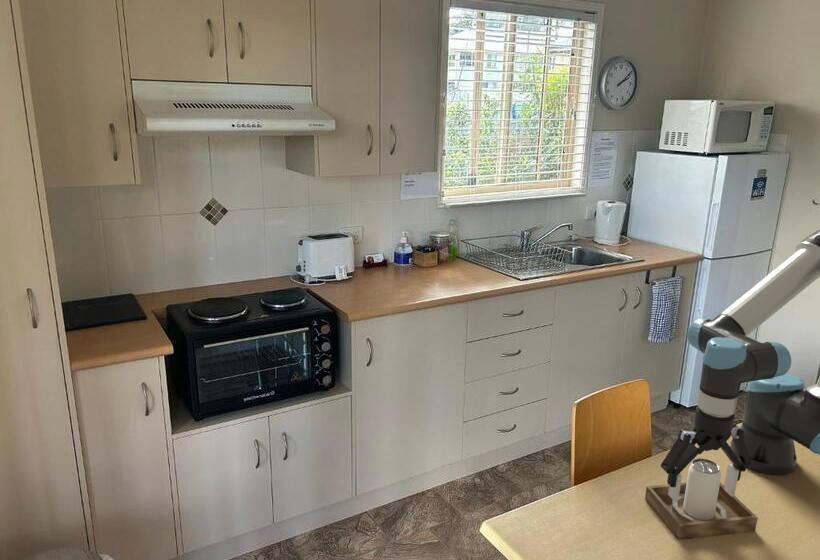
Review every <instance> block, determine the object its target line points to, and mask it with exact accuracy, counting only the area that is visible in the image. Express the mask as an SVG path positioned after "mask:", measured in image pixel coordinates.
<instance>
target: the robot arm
mask: <svg viewBox="0 0 820 560" xmlns="http://www.w3.org/2000/svg"><path fill="white" fill-rule="evenodd" d="M819 278H820V229H817V230H816V231H815V232H813V233H811V234H809V235H808V236H807V237H806V238H804V239H803V240H801V241H800V242H799V243H798V244H797V245H796V246H795V252H794V253H792V255H790V256H789V257H788V258H787V259H785V260H784V261H783V262H781V263H780V264H779V265H778V266H777V267H776V268H774V269H773V270H771V272H769V273H768V274H767V275H765V277H763V278H762V279H760V281H758V282H757V283H756V284H755V285H753V286H752V287H751V288H750V289H748V290H747V291H746V292H744V293H743V295H741V296H740V297H739V298H738V299H736V300H735V301H733V302H732V303H731V304H730V305H729V306H727V307H726V308H725V309H724V310H723V311H721V312H720V313H719V314H718V315H717V316H715V317H714V318H713V319H711V318H705V317H701V318H698V319H696V320H694V321H693V322H691V324H690V326H689V327H688V329H687V333H686V336H687V342H688V343H689V344H690V345H691V346H692V347H693V348H695V349H696V350H698V351H699V352H700V353H702V354H703V357H702V368H701V373H700V374H701V375H700V382H699V387H698V395H697V401H696V405H697V406H696V407H695V413H694V419H693V421H694V428H693V429H692V431H687V430H685V429H683V428H682V429H680V430H679V432H678V436H677V439H676V440H675V442H674V443H673V445H672V447H671V449H670V450H669V452H668V453H667V455H665V458H664V459H663V461H662V462H661V464H660V467H661V469H662V470H663V471H665V473H666V474H667V481H666V482H667V484H668V485H669V492H668V495H669V496H670V497H671V498H672V500H673V501H674V502H678V499H679V492H680V486H681V483H682V479H683V476H682V474H681V473H682V471H684V469H685V468H687V466H688V465H689V464H690V463H692V461H693V460H695V458H696V457H697V456H698V455H702V454H703V453H704V452H709V451H719V449H721V450H722V452H723V453H724V454H725V455H726V457H727V458H728V460H729V461H730V462H731V463H728V464H727V468H726V474H725V480H724V490H725V491H726V492H727V493H728V494H729V495H730V496H735V497H736V495H735V494H736V491H737V490H736V489H737V484H738V482H739V481H740V480H741V474H742V472H746V470H747V468H748V469H750V470H753V471H755V472H759V473H763V474H766V475H775V476H776V475H778V476H781V475H788V474H790V473H793V472H794V471H795V469H796V466H797V461H798V459H797V454H796V447H795V442H796V443H798V444H800V445H801V446H803V447H804V448H806V449H808V450H809V451H810V452H811V453H813V454H816V455H819V456H820V376H819V377H818V379H817V382H816V383H815V384H812V385H810V386H808V387H806V386H805V382H804V380H803V379H802V378H800V377H798V376H796V375H792V374H788V372H789V371H790V370H791V366H792V355H791V353H790V351H789V349H788V348H787V347H786V346H785V345H784V344H783V343H780V342H778V341H765V342H761V341H757V340H756V339H754V338H751V337H749V335H750V334H751V333H752V332H754V331H755V330H756V329H757V328H759V327H760V326H761V325H762V324H764V323H765V322H766V321H767V320H768V319H770V318H771V317H772V316H773V315H775V314H776V313H777V312H779V311H780V310H781V309H782V308H783V307H784V306H785V305H787V304H788V303H789V302H790V301H792V300H793V299H794V298H795V297H797V296H798V295H799V294H800V293H802V292H803V291H804V290H805V289H806V288H808V287H809V286H810V285H811V284H812V283H814V282H815V281H816V280H817V279H819ZM744 383H749V384H748V387H747V390H746V391H747V393H746V398H745V402H744V404H745V405H744V411H743V416H742V422H741V426H740V427H739V426H738V425H737V424H734V423H735V416H736V415H735V414H736V412H737V408H738V400H739V395H740V388H741V384H744ZM805 388H806V389H805ZM804 389H805V390H804ZM731 437H732V440H731V442H730V445H729V443H728V442H727V441H728V440H729V439H730V438H731ZM794 441H795V442H794ZM696 445H697V446H698V447H697V446H696Z"/></svg>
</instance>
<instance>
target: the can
mask: <svg viewBox="0 0 820 560" xmlns="http://www.w3.org/2000/svg"><path fill="white" fill-rule="evenodd" d="M720 470H721V467H720V466H719V464H717V463H716V462H715V461H713V460H710V459H707V458H696V459H695V458H694V459H693V460H692V461H691V465H690V466H689V468H688V472H687V479H686V483H687V485H686V492H685V499H684V507H683V508H684V510H685V512H686V513H687V514H688V515H689V516H690V517H692V518H694V519H697V520H703V521H705V520H710V519H712V518H713V517H714V515H715V510H716V504H717V498H718V492H719V486H720V482H721V479H722V477H721V476H722V473H721V471H720Z"/></svg>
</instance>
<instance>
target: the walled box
mask: <svg viewBox="0 0 820 560" xmlns="http://www.w3.org/2000/svg"><path fill="white" fill-rule="evenodd" d="M686 485H687V482H681V486H680V492H679V499H678V502H674V501H673V500H672V498H671V497H670V496H669V495H668V492H669V485H668V483H667V484H658V485H657V484H656V485H647V486H646V488H645V493H644V494H645V495H644V501H645V502H646V503H647V504H648V505H649V506H650V507H651V509H652V510H653V511H654V512H655V514H656V515H657V516H658V517H659V519H660V520H661V521H662V522H663V523H664V524H665V526H666V527H668V529H669V530H670V532H671V533H672V534H673V535H674V536H675V537H676V539H677V540H681V541H682V540H690V539H698V538H708V537H716V536H724V535H725V536H727V535H734V534H735V535H736V534H744V533H753V532H756V530H757V523H758V519H759V517H758V516H757V515H756V514H754V512H753V511H752V510H750V509H749V508H748V507H747V506H746V505H745V504H744V503H743V501H741V500H740V499H739V498H738V497H737V496H736V495H735V496H730V495H729V494H728V493H727V492H726V491H725V490H724V485H725V484H724V485H723V483H722V482H721V481H720V486H719V492H718V498H717V504H716V510H715V515H714V517H713V518H712V519H710V520H705V521H703V520H697V519H694V518H692V517H690V516H689V515H688V514H687V513H686V512H685V510H684V508H683V507H684V499H685V492H686Z"/></svg>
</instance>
